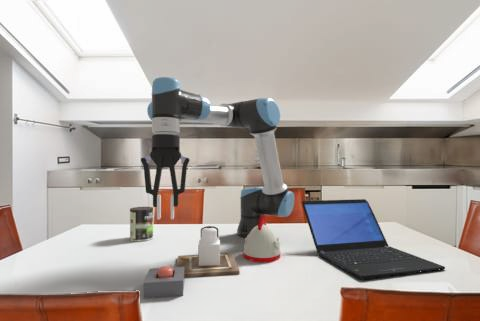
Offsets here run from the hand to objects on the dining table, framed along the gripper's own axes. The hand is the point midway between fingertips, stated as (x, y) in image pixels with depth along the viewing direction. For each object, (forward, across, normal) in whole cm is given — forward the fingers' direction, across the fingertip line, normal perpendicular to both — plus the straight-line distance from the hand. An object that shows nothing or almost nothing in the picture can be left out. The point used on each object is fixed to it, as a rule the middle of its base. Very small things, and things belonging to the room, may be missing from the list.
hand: (165, 218), depth 79 cm
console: (+20, 0, 0) cm, 20 cm away
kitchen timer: (+20, +33, +23) cm, 45 cm away
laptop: (+20, +71, +16) cm, 75 cm away
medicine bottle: (+19, +13, +16) cm, 28 cm away
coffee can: (+20, -16, +56) cm, 61 cm away
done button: (+17, 0, 0) cm, 17 cm away
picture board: (+20, +12, +16) cm, 28 cm away
